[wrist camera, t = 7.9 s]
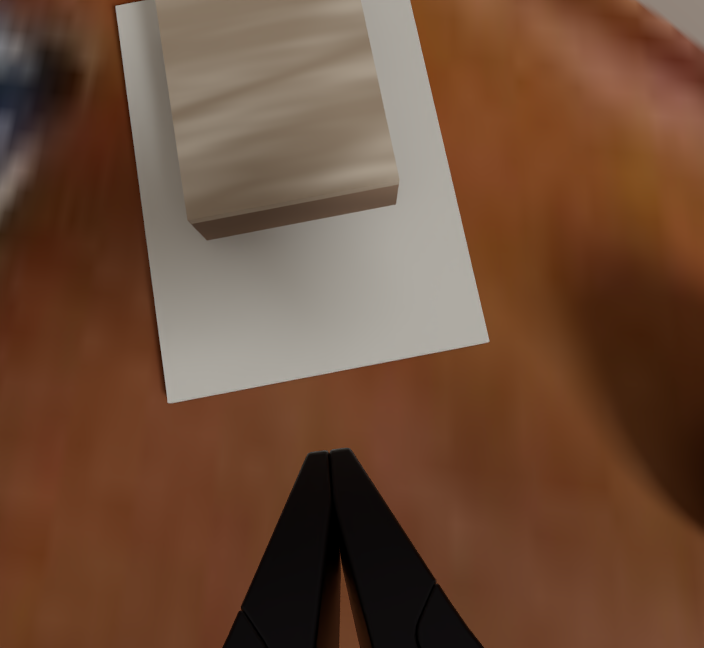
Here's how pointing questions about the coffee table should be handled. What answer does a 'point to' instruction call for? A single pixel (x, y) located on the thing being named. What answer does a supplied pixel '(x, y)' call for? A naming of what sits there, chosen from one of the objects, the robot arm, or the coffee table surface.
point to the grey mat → (304, 243)
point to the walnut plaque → (275, 112)
